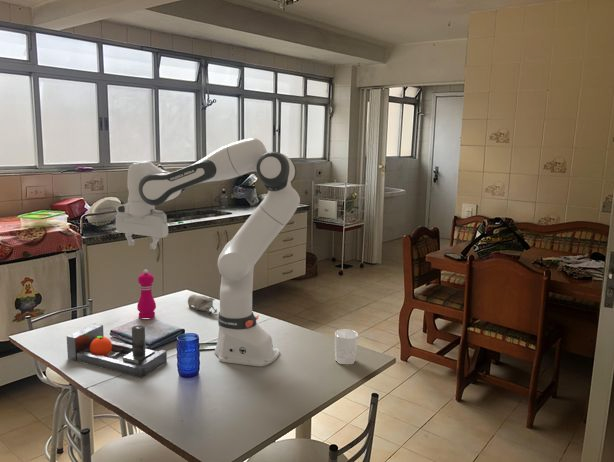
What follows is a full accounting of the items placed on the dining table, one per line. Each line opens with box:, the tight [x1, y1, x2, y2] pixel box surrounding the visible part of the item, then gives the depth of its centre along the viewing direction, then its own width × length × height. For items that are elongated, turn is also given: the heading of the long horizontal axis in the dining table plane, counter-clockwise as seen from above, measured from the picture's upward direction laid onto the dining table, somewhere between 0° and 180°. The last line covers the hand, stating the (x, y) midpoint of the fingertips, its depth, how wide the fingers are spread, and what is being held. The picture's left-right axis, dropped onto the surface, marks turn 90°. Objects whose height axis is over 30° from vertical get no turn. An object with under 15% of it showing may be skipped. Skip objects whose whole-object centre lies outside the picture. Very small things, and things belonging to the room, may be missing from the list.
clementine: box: [90, 336, 112, 357], centre depth 168 cm, size 8×7×7 cm
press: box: [66, 323, 168, 379], centre depth 166 cm, size 30×12×8 cm, turn 68°
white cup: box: [334, 328, 359, 365], centre depth 171 cm, size 8×8×10 cm
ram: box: [122, 324, 156, 365], centre depth 162 cm, size 6×8×13 cm
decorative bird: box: [187, 294, 218, 315], centre depth 214 cm, size 5×16×8 cm, turn 53°
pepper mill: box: [136, 269, 157, 319], centre depth 203 cm, size 7×7×20 cm
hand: (142, 247), depth 178 cm, fingers open, 8 cm apart
